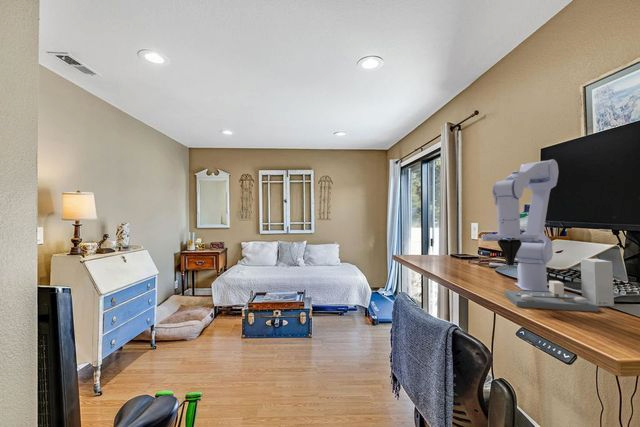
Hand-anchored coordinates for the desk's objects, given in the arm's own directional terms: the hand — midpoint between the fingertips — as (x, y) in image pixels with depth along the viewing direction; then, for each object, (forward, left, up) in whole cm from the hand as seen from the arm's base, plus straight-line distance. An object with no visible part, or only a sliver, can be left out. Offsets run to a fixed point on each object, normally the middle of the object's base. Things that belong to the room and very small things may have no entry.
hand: (509, 265), depth 89 cm
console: (+3, +8, -10) cm, 13 cm away
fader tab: (+3, +10, -8) cm, 14 cm away
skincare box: (+1, +21, -10) cm, 23 cm away
